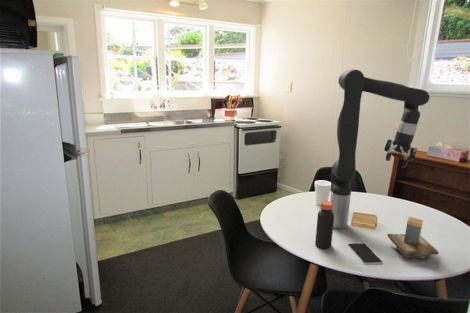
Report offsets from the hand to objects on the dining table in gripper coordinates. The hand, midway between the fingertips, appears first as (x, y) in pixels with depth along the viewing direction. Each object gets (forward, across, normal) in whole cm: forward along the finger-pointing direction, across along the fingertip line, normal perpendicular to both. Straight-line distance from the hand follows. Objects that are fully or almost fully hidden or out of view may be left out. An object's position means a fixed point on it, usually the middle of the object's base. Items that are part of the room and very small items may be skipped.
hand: (395, 163), depth 150 cm
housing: (+24, +26, -15) cm, 39 cm away
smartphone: (+32, +18, -33) cm, 49 cm away
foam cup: (+37, -30, -9) cm, 48 cm away
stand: (+29, +27, -14) cm, 42 cm away
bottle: (+34, +5, -43) cm, 55 cm away
